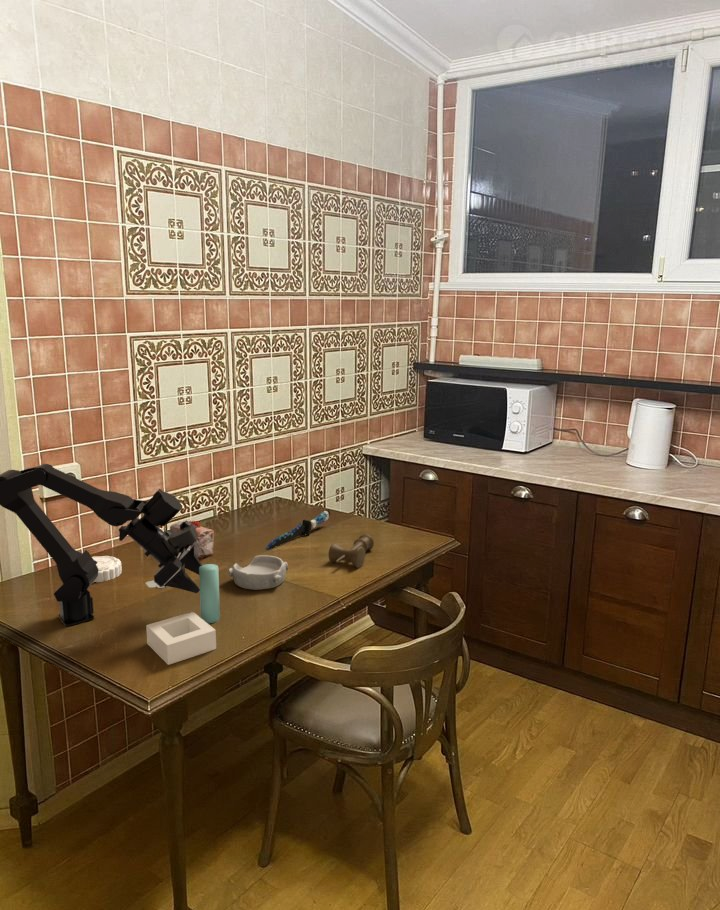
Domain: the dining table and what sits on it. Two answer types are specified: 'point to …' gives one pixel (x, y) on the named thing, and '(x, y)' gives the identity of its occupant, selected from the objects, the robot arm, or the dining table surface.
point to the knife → (299, 530)
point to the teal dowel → (209, 593)
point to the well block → (181, 637)
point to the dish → (260, 573)
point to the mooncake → (107, 568)
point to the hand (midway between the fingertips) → (202, 583)
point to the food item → (199, 539)
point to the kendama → (352, 551)
